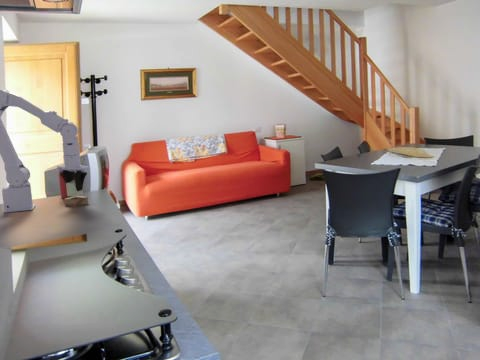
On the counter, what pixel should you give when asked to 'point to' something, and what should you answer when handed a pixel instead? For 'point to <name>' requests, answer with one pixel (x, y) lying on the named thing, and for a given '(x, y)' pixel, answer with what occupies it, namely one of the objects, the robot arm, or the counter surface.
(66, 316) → the counter surface
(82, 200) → the walnut block
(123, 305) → the counter surface
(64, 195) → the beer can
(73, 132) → the robot arm
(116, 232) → the counter surface
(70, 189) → the sage brick
